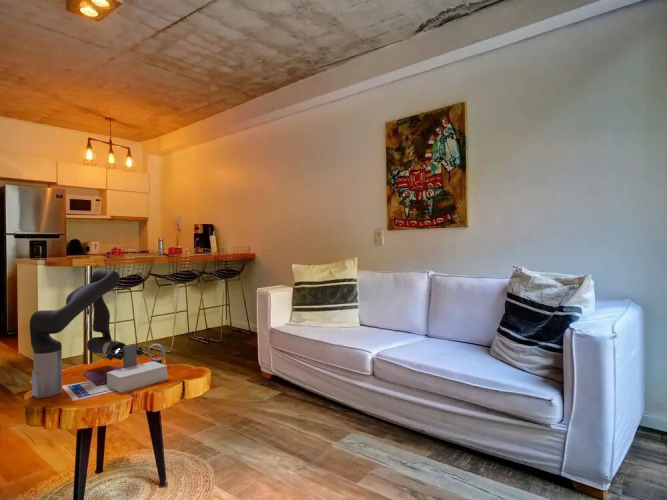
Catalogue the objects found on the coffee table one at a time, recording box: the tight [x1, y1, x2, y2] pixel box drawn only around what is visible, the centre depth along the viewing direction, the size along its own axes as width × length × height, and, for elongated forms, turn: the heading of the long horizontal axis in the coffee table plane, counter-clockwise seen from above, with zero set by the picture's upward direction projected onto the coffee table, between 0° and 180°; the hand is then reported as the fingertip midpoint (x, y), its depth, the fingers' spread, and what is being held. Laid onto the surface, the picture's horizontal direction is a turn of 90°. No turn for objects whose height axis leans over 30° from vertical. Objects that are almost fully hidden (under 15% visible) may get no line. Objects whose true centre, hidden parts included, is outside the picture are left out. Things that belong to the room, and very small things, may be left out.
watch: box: [147, 343, 167, 364], centre depth 197 cm, size 6×8×11 cm
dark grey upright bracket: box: [122, 344, 138, 368], centre depth 175 cm, size 18×13×14 cm
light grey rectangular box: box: [106, 360, 168, 393], centre depth 174 cm, size 20×12×6 cm, turn 142°
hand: (131, 355), depth 177 cm, fingers open, 8 cm apart
